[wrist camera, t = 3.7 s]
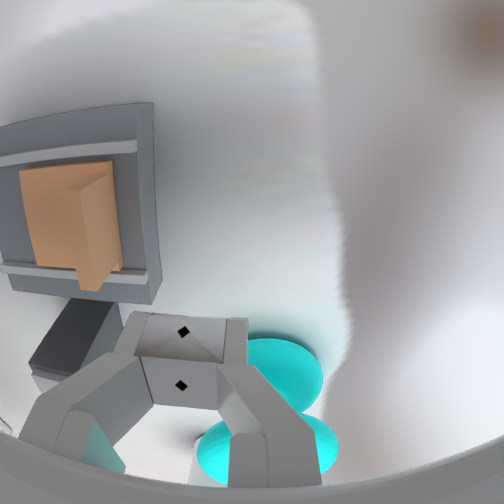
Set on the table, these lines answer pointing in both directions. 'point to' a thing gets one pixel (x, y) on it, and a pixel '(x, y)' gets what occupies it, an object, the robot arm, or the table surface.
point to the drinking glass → (201, 472)
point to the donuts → (290, 388)
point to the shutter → (74, 218)
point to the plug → (76, 340)
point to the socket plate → (126, 194)
